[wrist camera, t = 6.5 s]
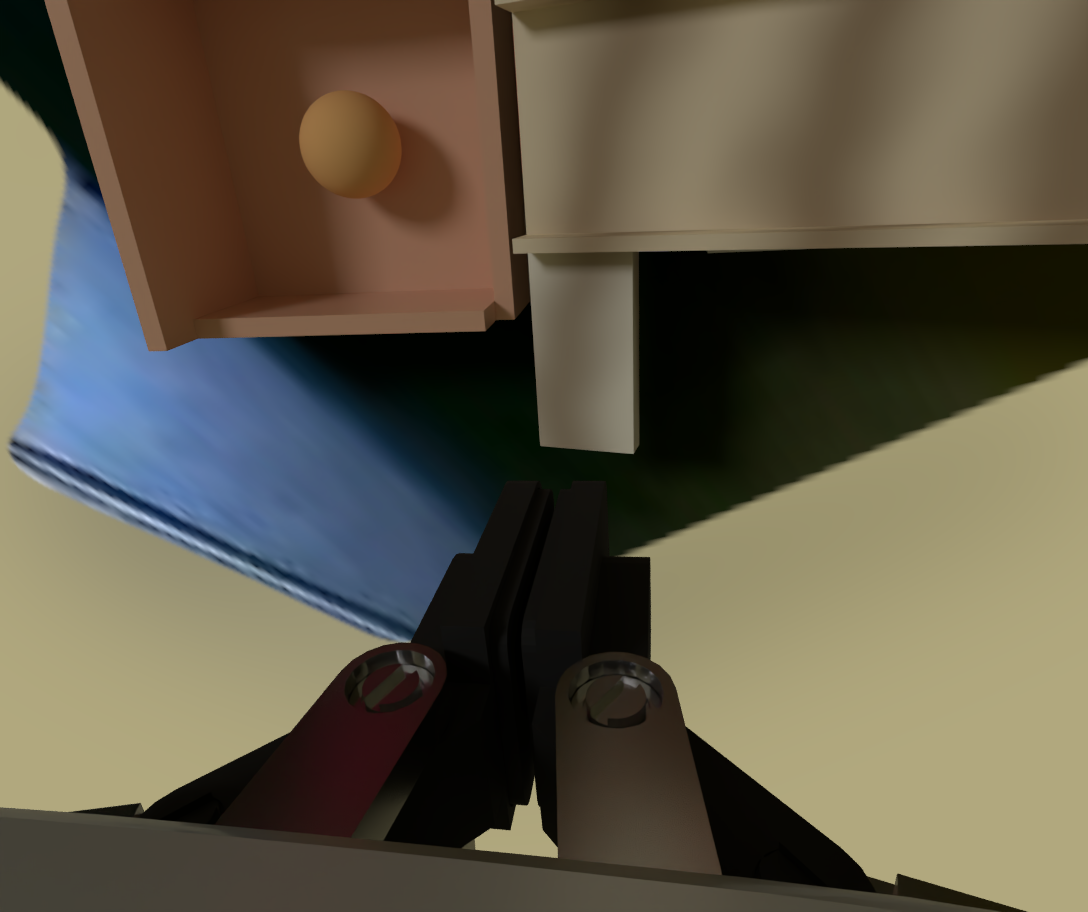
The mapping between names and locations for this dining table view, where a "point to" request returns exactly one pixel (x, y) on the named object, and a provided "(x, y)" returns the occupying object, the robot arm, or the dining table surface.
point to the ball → (350, 144)
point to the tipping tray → (773, 152)
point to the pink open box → (301, 163)
